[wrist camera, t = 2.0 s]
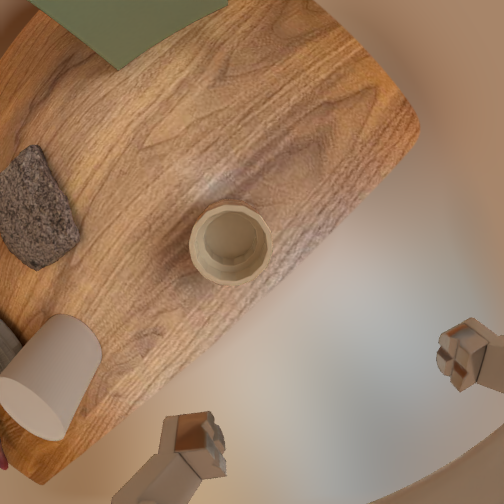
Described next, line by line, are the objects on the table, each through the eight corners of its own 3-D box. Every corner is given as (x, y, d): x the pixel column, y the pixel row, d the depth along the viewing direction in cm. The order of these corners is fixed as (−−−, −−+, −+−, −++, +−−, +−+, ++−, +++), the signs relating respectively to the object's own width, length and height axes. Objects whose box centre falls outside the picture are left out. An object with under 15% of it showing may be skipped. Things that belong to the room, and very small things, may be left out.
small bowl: (239, 183, 25) (242, 187, 21) (278, 242, 27) (288, 257, 23) (180, 224, 26) (172, 236, 21) (221, 279, 28) (221, 300, 23)
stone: (-2, 186, 22) (-23, 189, 19) (46, 138, 22) (25, 135, 18) (39, 275, 25) (20, 288, 22) (92, 237, 25) (74, 246, 21)
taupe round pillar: (48, 359, 29) (7, 420, 17) (42, 305, 27) (-15, 363, 15) (102, 378, 30) (71, 451, 18) (101, 325, 28) (55, 399, 16)
